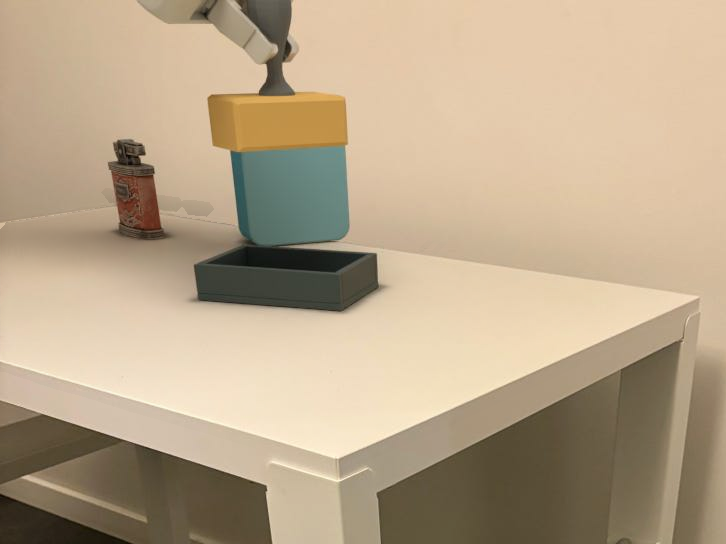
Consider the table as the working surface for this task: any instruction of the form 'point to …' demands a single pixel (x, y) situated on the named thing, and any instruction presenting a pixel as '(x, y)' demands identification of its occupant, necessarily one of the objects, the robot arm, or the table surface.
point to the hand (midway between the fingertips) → (280, 57)
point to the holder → (287, 277)
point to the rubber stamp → (276, 101)
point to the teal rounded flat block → (291, 195)
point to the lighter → (135, 191)
